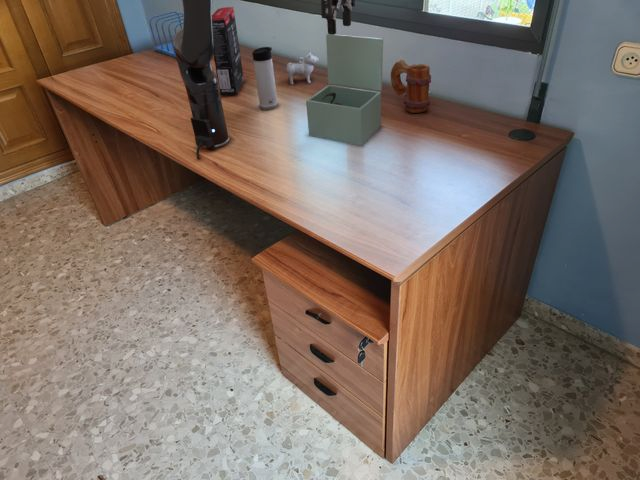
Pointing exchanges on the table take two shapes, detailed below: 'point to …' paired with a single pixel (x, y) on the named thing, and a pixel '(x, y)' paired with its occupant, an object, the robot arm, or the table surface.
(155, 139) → the table surface
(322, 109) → the chest
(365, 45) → the lid
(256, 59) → the travel mug
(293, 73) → the dog figurine
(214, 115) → the robot arm
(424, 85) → the mug
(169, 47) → the file sorter
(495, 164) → the table surface
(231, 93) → the graphics card box
